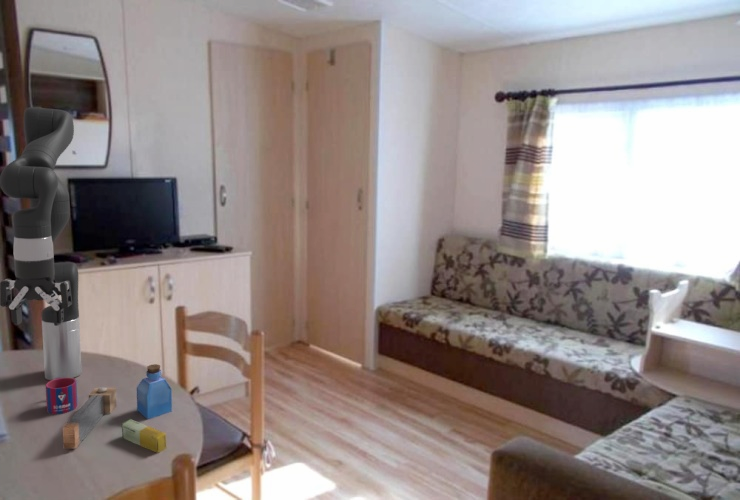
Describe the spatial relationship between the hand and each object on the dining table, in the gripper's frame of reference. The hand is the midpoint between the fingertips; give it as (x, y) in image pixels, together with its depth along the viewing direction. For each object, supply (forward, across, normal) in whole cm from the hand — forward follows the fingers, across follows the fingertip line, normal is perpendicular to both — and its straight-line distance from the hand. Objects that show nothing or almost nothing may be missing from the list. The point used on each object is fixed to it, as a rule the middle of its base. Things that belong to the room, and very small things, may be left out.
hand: (38, 324), depth 120 cm
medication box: (+25, -26, +10) cm, 37 cm away
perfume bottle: (+25, -24, -6) cm, 35 cm away
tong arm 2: (+24, -12, +4) cm, 27 cm away
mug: (+26, 0, -9) cm, 27 cm away
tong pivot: (+25, -11, -6) cm, 28 cm away
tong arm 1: (+24, -10, +4) cm, 27 cm away
